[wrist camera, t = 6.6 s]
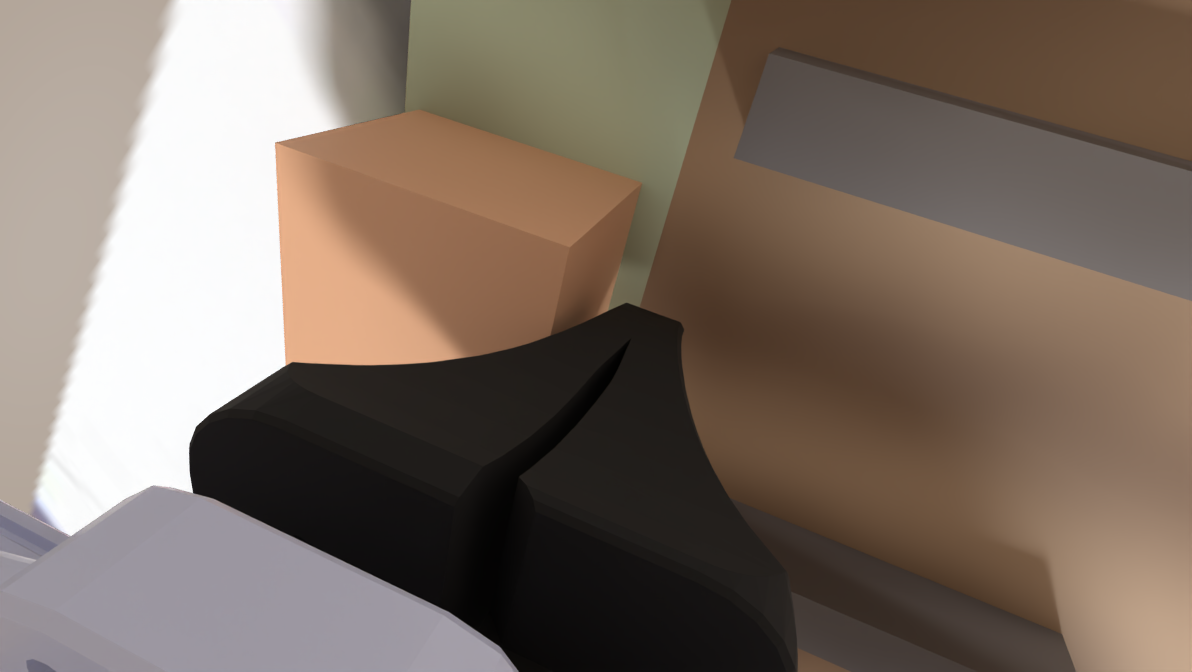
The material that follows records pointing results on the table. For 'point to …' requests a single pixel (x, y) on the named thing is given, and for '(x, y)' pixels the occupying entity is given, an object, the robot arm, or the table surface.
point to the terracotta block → (439, 241)
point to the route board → (900, 293)
